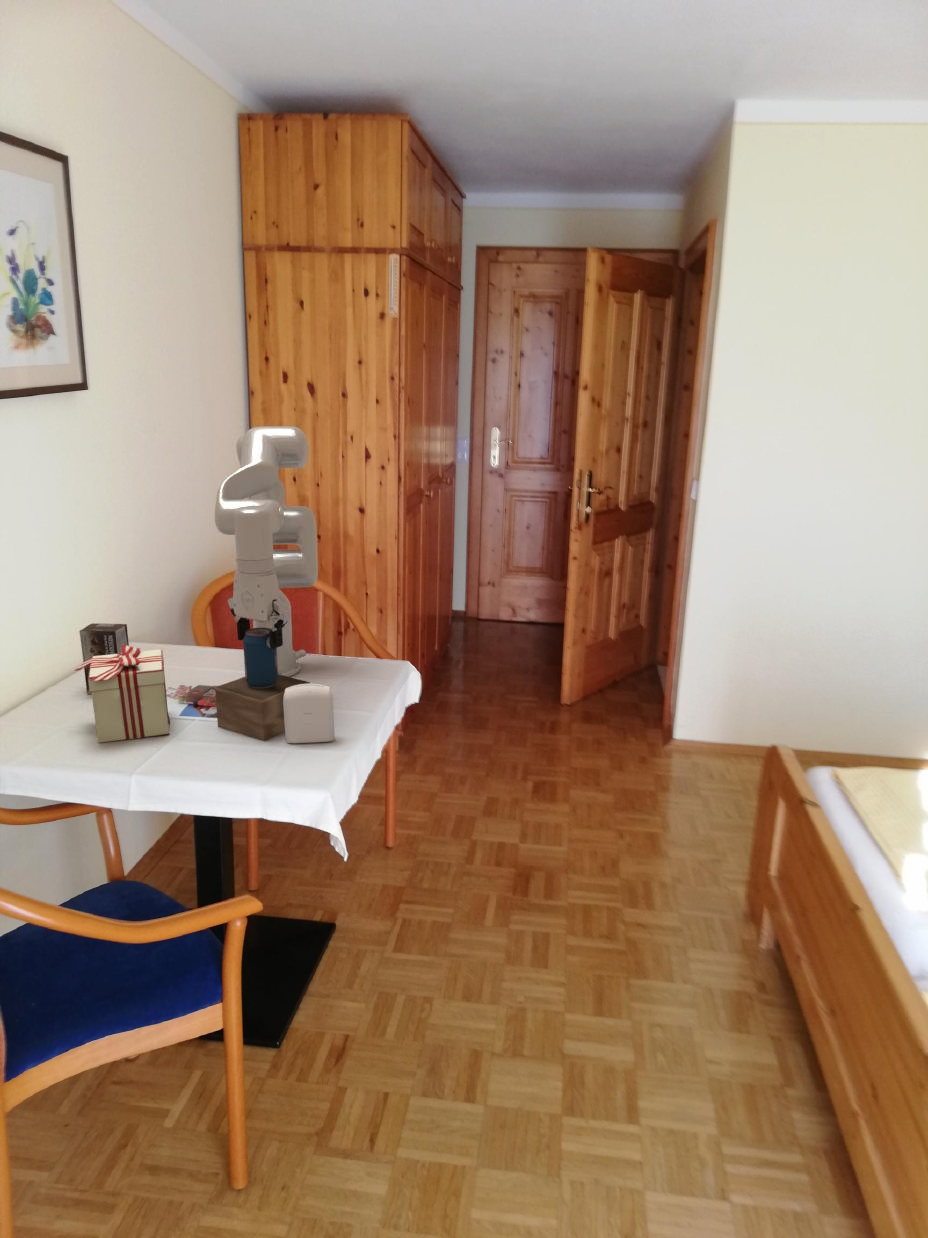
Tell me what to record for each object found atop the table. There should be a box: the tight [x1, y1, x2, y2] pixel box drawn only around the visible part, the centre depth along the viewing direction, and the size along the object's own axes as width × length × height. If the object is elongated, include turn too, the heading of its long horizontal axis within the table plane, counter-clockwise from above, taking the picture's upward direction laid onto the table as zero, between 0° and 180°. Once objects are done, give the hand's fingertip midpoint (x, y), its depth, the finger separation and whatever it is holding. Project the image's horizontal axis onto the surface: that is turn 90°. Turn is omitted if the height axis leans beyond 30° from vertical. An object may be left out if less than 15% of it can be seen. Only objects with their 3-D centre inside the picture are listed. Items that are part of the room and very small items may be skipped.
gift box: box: [73, 645, 171, 744], centre depth 198 cm, size 17×18×17 cm
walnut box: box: [213, 674, 311, 742], centre depth 203 cm, size 14×14×9 cm
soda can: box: [242, 627, 278, 689], centre depth 200 cm, size 7×7×12 cm
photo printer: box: [283, 683, 336, 744], centre depth 193 cm, size 10×4×12 cm, turn 96°
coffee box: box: [79, 623, 130, 696], centre depth 222 cm, size 9×6×16 cm
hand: (260, 642), depth 200 cm, fingers open, 9 cm apart
